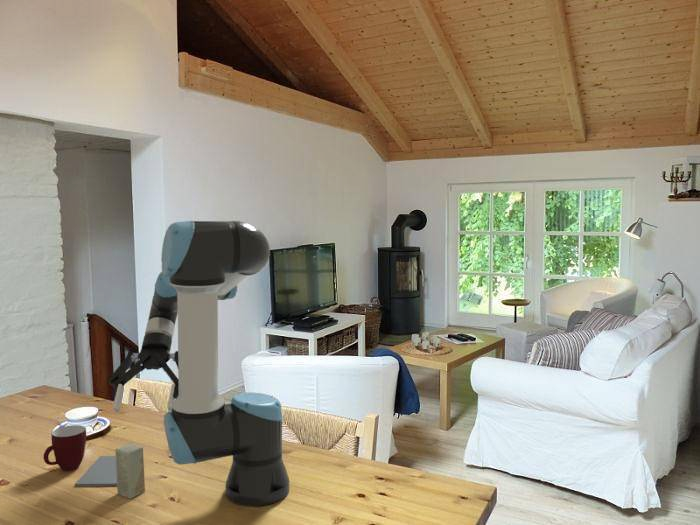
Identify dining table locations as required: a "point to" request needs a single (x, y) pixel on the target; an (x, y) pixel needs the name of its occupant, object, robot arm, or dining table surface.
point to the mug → (67, 447)
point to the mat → (100, 473)
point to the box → (130, 470)
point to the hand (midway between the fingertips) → (142, 410)
